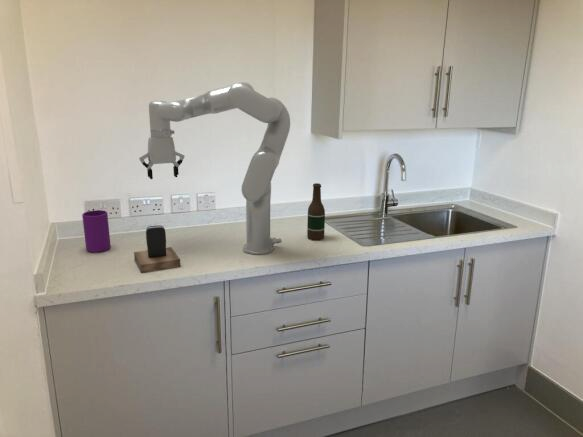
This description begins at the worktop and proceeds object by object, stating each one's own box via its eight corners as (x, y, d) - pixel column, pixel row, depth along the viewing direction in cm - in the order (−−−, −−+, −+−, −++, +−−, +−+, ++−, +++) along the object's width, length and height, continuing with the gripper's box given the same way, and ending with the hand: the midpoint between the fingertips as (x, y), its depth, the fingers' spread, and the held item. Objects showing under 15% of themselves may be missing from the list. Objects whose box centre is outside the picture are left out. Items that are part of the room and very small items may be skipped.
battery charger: (166, 252, 186) (164, 223, 182) (167, 256, 182) (165, 226, 179) (147, 254, 183) (144, 225, 180) (147, 258, 180) (145, 228, 177)
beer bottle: (304, 239, 211) (305, 184, 204) (310, 234, 218) (311, 181, 211) (321, 242, 208) (322, 186, 202) (326, 236, 215) (328, 183, 208)
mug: (87, 254, 191) (82, 217, 187) (84, 242, 205) (80, 207, 200) (112, 251, 195) (108, 214, 191) (107, 239, 208) (104, 205, 204)
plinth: (171, 254, 192) (171, 247, 192) (180, 266, 180) (179, 259, 180) (134, 259, 186) (133, 252, 186) (141, 272, 174) (140, 265, 174)
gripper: (180, 132, 196) (182, 174, 201) (135, 133, 189) (139, 177, 194) (185, 134, 190) (187, 177, 195) (139, 136, 182) (142, 181, 187)
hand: (163, 177), depth 194 cm, fingers open, 9 cm apart
